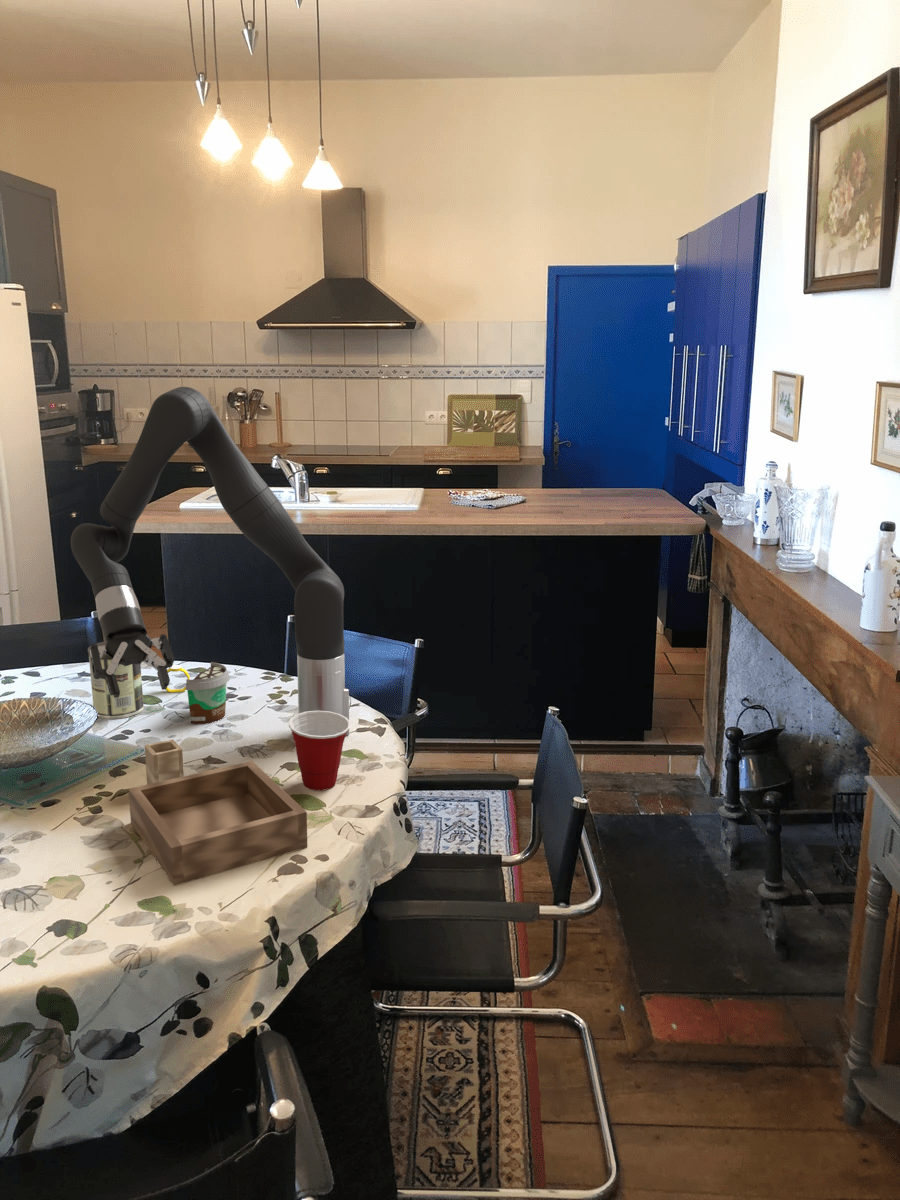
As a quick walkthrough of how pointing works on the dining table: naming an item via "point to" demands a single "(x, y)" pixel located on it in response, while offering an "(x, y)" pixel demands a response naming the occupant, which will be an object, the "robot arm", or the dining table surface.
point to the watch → (175, 669)
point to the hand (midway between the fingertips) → (141, 691)
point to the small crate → (163, 761)
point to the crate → (216, 821)
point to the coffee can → (128, 686)
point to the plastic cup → (319, 746)
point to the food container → (208, 694)
